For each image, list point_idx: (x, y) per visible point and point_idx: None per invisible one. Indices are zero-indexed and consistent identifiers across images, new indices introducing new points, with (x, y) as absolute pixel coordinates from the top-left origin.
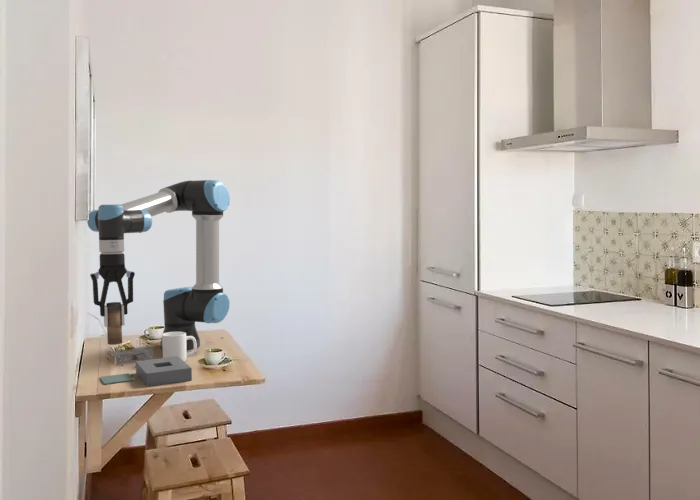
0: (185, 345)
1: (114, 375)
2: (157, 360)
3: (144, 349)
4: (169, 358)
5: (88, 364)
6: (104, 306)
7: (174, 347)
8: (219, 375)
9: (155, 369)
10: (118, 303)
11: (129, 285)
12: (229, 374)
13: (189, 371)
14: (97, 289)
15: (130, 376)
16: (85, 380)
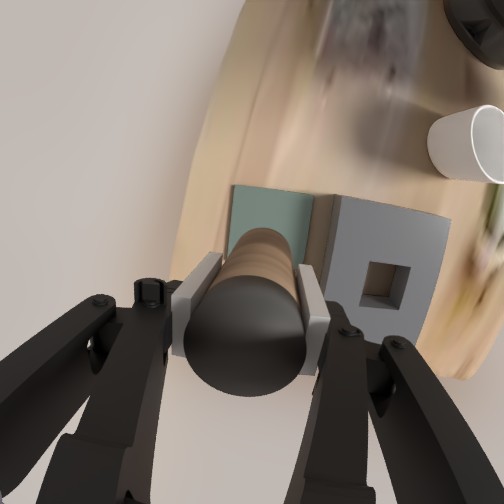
0: (493, 174)
1: (273, 195)
2: (395, 228)
3: None
4: (428, 228)
5: (249, 24)
6: (171, 342)
7: (468, 177)
8: (453, 332)
9: None
10: (271, 388)
11: (401, 500)
12: (466, 335)
13: None
14: (56, 430)
15: (306, 233)
16: (197, 185)
